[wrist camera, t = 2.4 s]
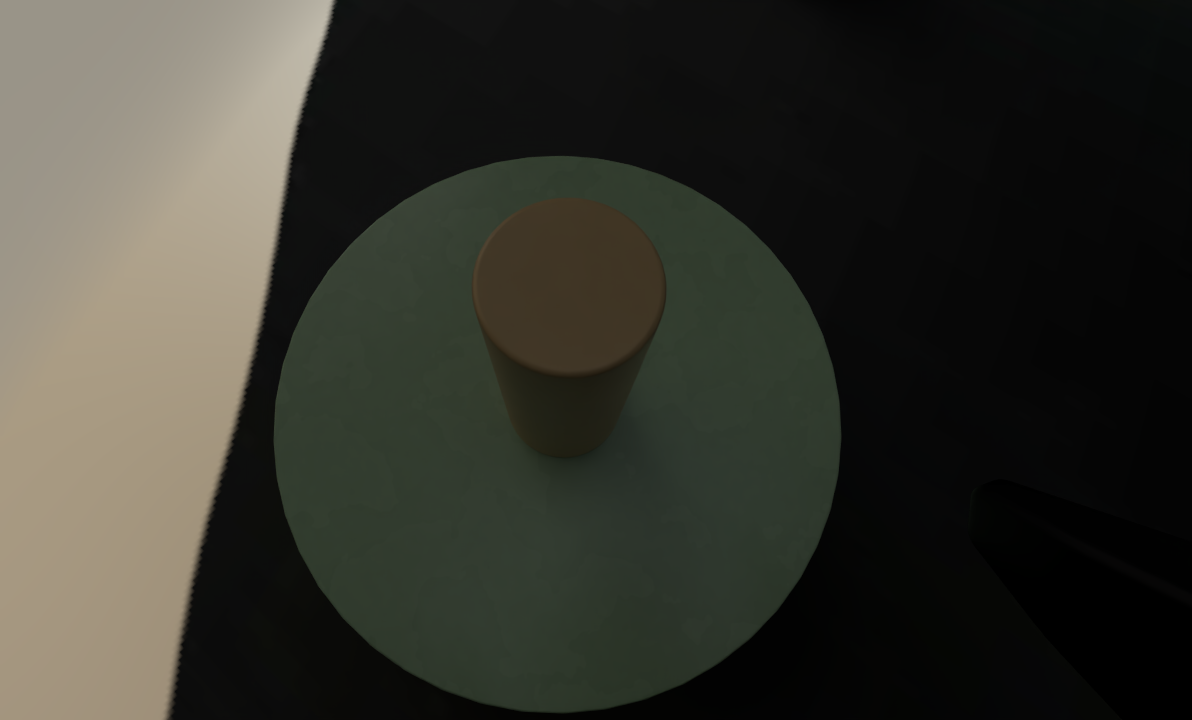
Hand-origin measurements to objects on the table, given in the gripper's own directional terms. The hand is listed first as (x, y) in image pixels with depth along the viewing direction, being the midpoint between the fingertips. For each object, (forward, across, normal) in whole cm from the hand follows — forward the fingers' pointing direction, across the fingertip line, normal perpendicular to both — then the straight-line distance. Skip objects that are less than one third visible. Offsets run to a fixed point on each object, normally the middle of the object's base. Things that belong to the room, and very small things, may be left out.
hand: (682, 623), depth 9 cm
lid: (+8, 0, +1) cm, 8 cm away
